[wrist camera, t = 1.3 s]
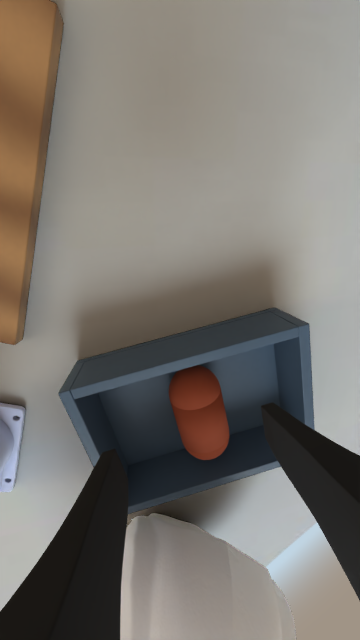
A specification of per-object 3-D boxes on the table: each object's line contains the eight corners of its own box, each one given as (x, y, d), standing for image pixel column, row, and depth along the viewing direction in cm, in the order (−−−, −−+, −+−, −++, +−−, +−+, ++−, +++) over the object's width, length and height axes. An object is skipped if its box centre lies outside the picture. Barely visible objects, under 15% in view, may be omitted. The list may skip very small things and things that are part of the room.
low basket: (122, 467, 24) (117, 517, 19) (77, 360, 20) (57, 393, 15) (286, 418, 25) (315, 455, 20) (275, 307, 21) (309, 323, 16)
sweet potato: (224, 425, 23) (240, 463, 19) (183, 438, 23) (191, 478, 19) (208, 350, 20) (223, 376, 16) (161, 363, 20) (165, 392, 16)
